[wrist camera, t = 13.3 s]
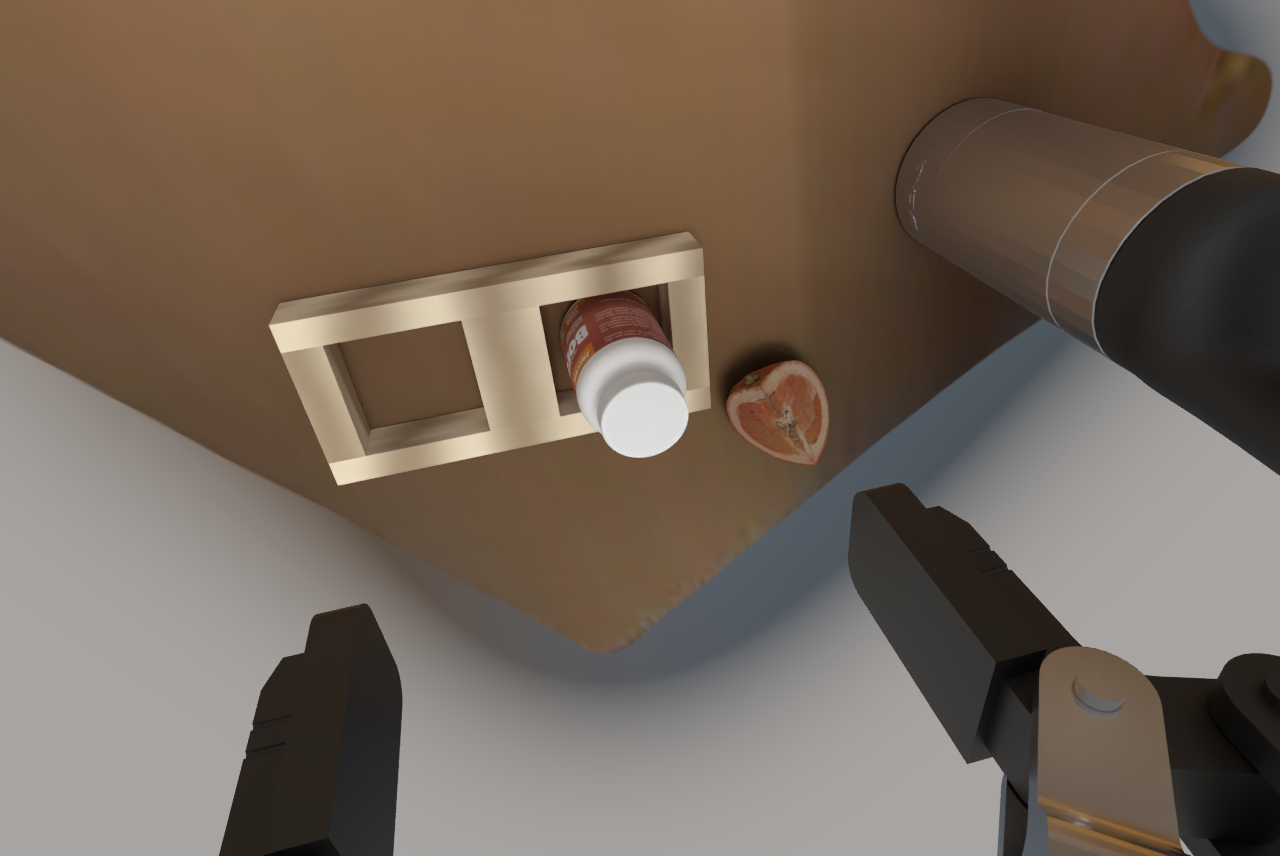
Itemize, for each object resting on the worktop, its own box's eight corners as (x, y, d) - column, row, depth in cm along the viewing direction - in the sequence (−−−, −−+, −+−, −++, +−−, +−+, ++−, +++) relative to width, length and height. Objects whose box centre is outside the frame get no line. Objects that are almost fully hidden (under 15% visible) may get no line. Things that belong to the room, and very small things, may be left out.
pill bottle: (555, 288, 44) (583, 375, 35) (653, 280, 45) (705, 361, 36) (561, 378, 47) (588, 477, 38) (653, 367, 48) (700, 462, 39)
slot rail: (688, 231, 44) (702, 247, 41) (698, 385, 50) (710, 408, 48) (279, 302, 41) (268, 325, 38) (343, 457, 47) (338, 485, 45)
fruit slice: (698, 377, 50) (720, 414, 46) (780, 320, 49) (810, 353, 45) (753, 451, 54) (777, 491, 50) (829, 401, 53) (860, 437, 49)
